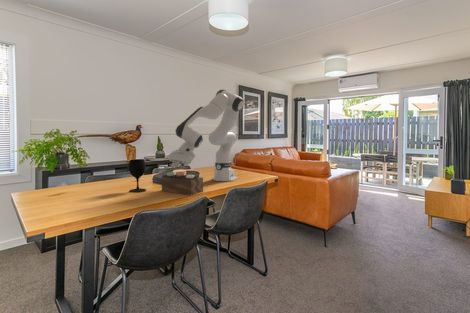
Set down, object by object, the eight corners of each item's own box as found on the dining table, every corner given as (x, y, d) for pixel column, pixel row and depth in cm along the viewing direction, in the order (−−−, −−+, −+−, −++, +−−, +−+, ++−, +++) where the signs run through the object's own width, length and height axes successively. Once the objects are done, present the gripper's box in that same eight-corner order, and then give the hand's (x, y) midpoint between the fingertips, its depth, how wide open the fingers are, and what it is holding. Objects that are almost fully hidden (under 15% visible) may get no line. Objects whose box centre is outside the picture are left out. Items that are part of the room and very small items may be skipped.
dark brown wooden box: (174, 187, 180) (174, 173, 179) (202, 191, 168) (202, 176, 167) (161, 190, 169) (161, 175, 168) (191, 195, 158) (191, 179, 157)
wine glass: (135, 193, 161) (134, 161, 159) (125, 191, 167) (125, 160, 166) (149, 190, 169) (149, 159, 168) (140, 188, 176) (139, 158, 174)
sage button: (170, 175, 173) (170, 172, 173) (176, 176, 171) (176, 173, 171) (164, 176, 169) (164, 173, 169) (170, 177, 167) (170, 174, 166)
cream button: (189, 177, 166) (189, 174, 166) (195, 178, 163) (195, 175, 163) (184, 179, 161) (184, 175, 161) (190, 179, 159) (190, 176, 159)
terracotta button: (179, 174, 169) (179, 171, 169) (185, 175, 167) (185, 172, 167) (174, 176, 165) (174, 172, 165) (180, 176, 163) (180, 173, 162)
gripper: (172, 146, 183) (160, 161, 177) (192, 150, 170) (180, 166, 164) (177, 152, 187) (165, 167, 181) (197, 156, 174) (185, 172, 168)
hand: (172, 166), depth 172 cm, fingers closed
